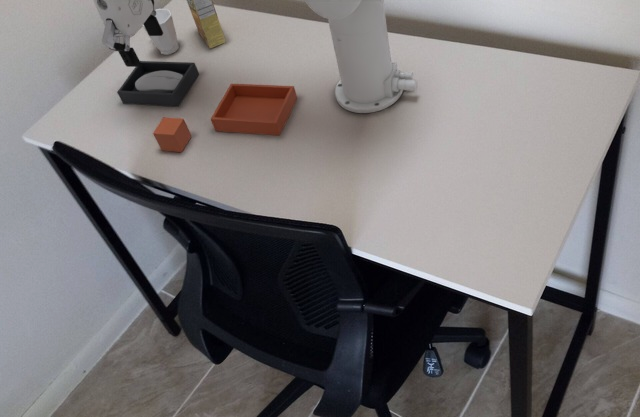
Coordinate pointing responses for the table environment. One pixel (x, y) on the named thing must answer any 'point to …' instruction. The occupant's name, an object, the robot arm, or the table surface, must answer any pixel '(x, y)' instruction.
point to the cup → (165, 33)
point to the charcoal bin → (134, 96)
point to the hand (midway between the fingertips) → (145, 50)
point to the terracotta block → (172, 134)
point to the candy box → (207, 22)
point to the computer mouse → (158, 82)
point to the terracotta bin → (254, 109)
